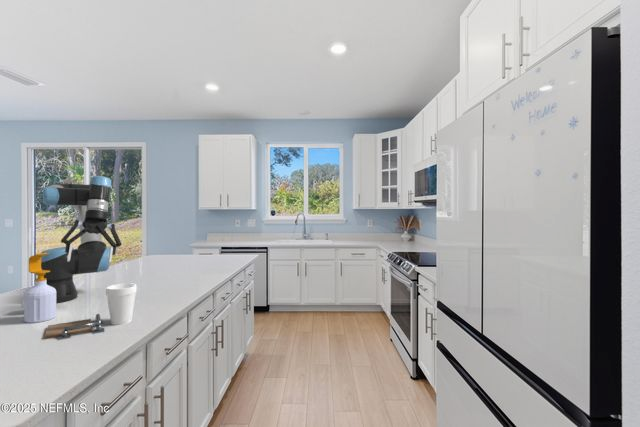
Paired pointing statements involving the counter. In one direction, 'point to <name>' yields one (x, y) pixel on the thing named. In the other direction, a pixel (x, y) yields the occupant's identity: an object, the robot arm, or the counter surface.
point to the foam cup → (121, 302)
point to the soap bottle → (39, 295)
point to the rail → (95, 323)
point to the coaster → (58, 328)
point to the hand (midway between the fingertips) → (89, 262)
